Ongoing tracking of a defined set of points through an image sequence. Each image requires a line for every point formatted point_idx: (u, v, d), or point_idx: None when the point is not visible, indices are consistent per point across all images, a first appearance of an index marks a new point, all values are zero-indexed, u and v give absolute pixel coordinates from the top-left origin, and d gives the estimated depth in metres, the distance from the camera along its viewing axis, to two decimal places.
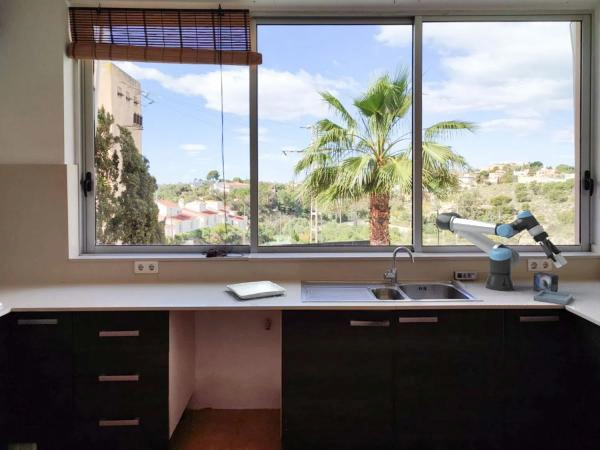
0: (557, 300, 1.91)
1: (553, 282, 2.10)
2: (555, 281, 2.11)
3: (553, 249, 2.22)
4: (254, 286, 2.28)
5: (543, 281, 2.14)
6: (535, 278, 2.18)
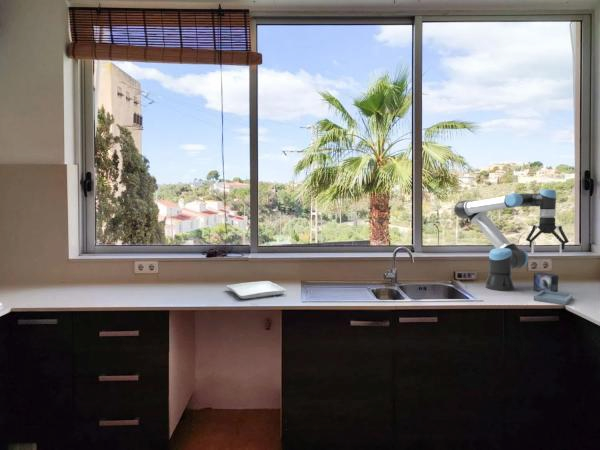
0: (557, 300, 1.91)
1: (553, 282, 2.10)
2: (555, 281, 2.11)
3: None
4: (254, 286, 2.28)
5: (543, 281, 2.14)
6: (535, 278, 2.18)
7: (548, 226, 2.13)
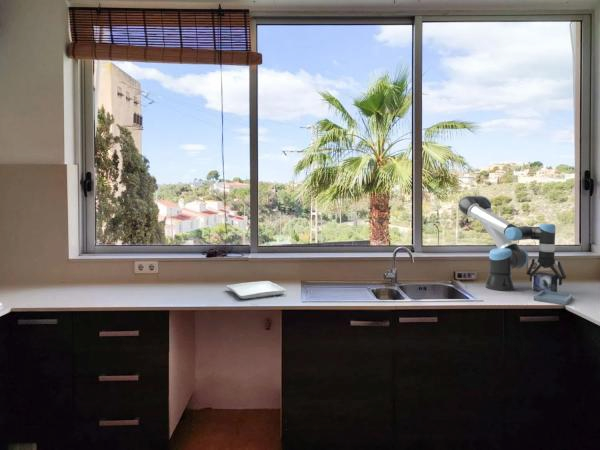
0: (557, 300, 1.91)
1: (553, 282, 2.10)
2: (554, 281, 2.11)
3: None
4: (254, 286, 2.28)
5: (543, 281, 2.14)
6: (535, 278, 2.18)
7: (547, 260, 2.14)
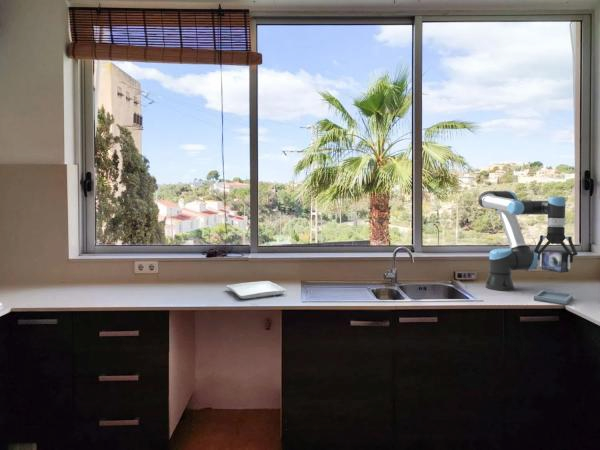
0: (557, 300, 1.91)
1: (563, 259, 1.94)
2: (565, 258, 1.94)
3: (564, 248, 1.96)
4: (254, 286, 2.28)
5: (552, 259, 1.97)
6: (543, 256, 2.01)
7: (557, 236, 1.97)
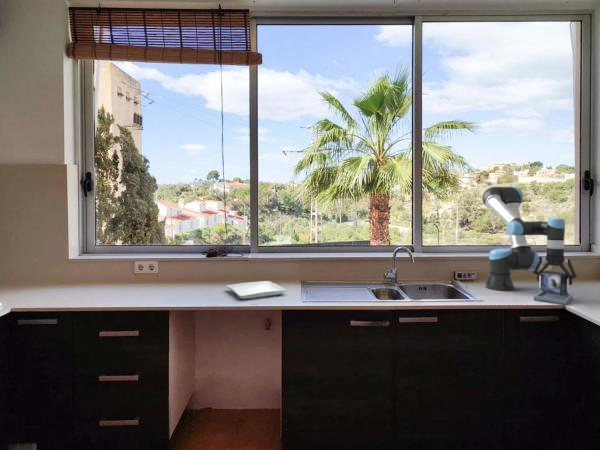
0: (557, 300, 1.91)
1: (562, 281, 1.94)
2: (564, 280, 1.94)
3: None
4: (254, 286, 2.28)
5: (552, 281, 1.97)
6: (543, 277, 2.01)
7: (556, 258, 1.97)
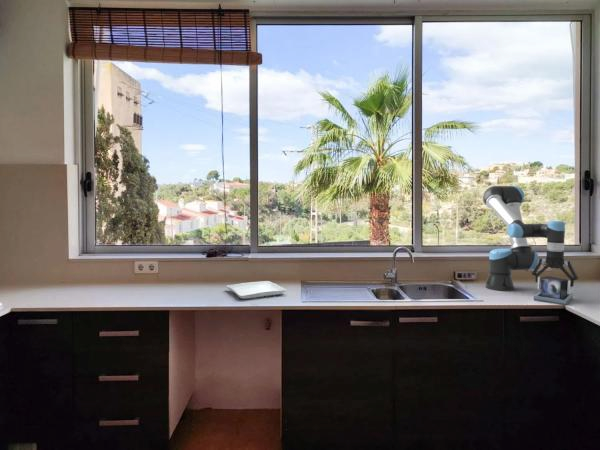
0: (557, 300, 1.91)
1: (562, 287, 1.94)
2: (564, 286, 1.95)
3: None
4: (254, 286, 2.28)
5: (551, 286, 1.97)
6: (542, 283, 2.02)
7: (556, 261, 1.97)
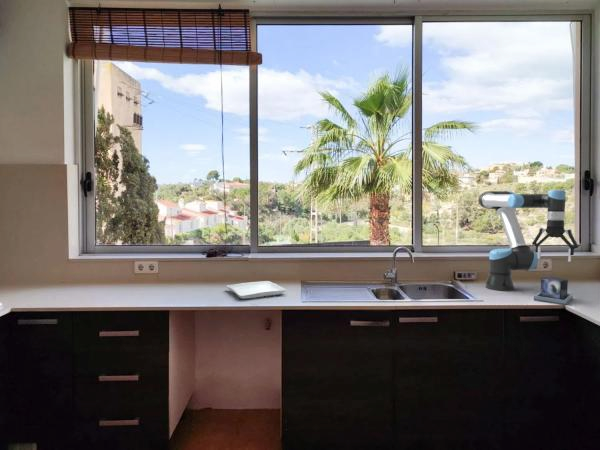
0: (557, 300, 1.91)
1: (562, 287, 1.94)
2: (564, 286, 1.95)
3: (565, 241, 1.95)
4: (254, 286, 2.28)
5: (551, 286, 1.97)
6: (542, 283, 2.02)
7: (556, 230, 1.97)
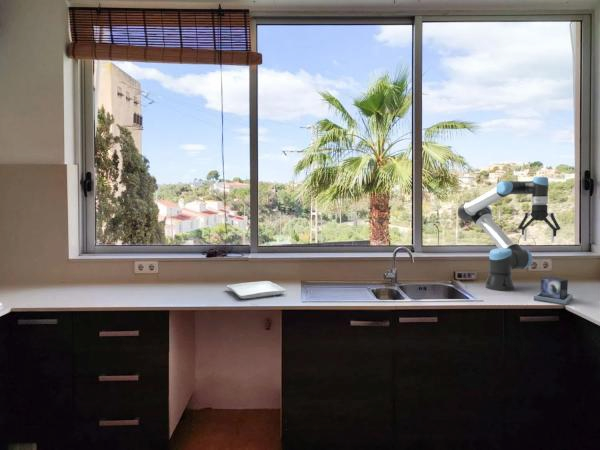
0: (557, 300, 1.91)
1: (562, 287, 1.94)
2: (564, 286, 1.95)
3: (548, 224, 2.12)
4: (254, 286, 2.28)
5: (551, 286, 1.97)
6: (542, 283, 2.02)
7: (540, 213, 2.14)
